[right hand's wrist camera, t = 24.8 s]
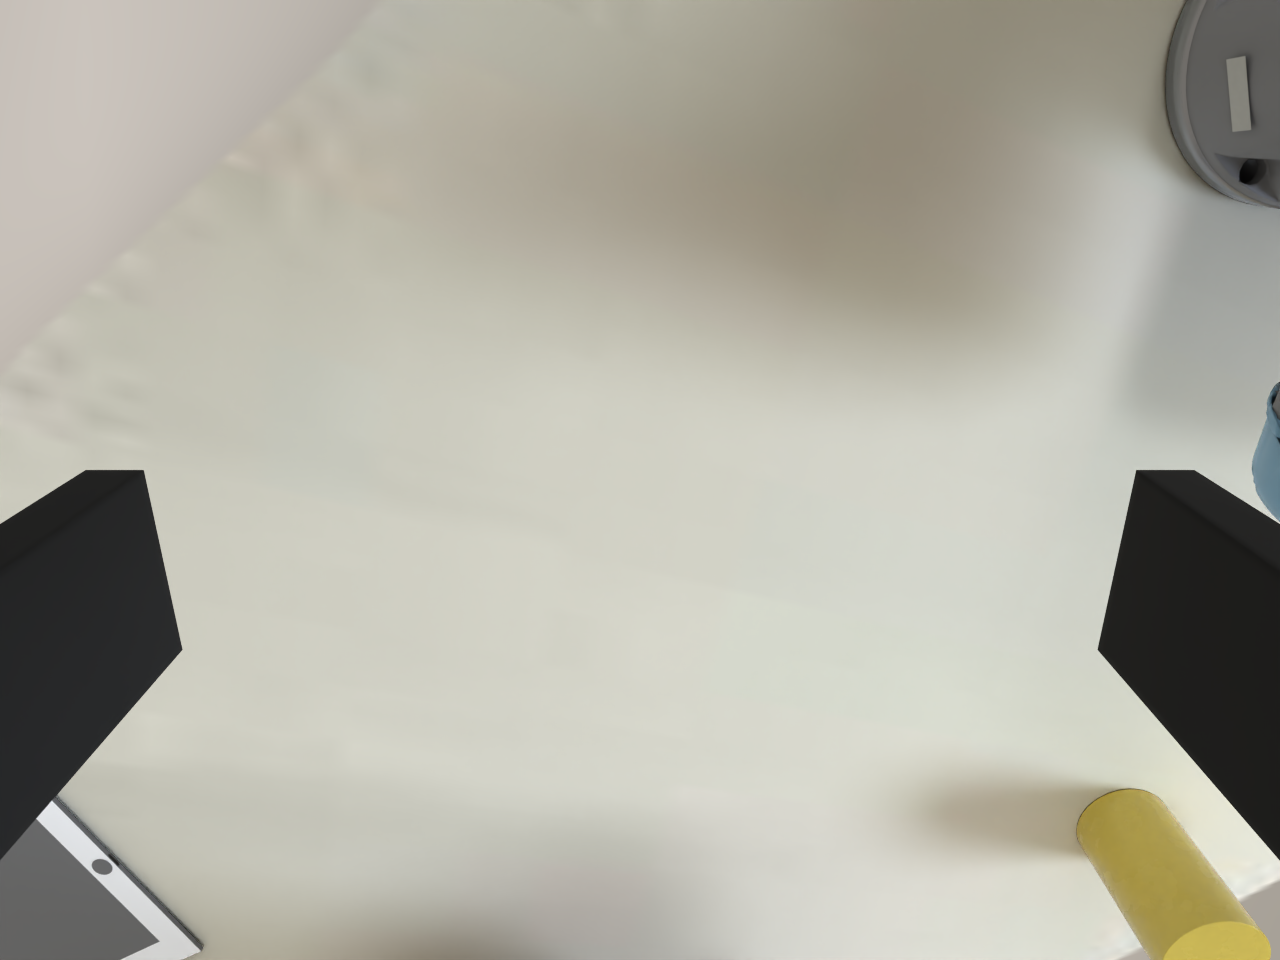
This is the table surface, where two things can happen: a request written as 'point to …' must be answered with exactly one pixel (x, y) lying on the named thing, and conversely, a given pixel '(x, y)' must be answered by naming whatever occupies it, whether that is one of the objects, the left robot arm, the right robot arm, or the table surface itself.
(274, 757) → the table surface
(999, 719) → the table surface
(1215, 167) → the right robot arm
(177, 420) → the table surface
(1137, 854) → the canister
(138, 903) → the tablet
